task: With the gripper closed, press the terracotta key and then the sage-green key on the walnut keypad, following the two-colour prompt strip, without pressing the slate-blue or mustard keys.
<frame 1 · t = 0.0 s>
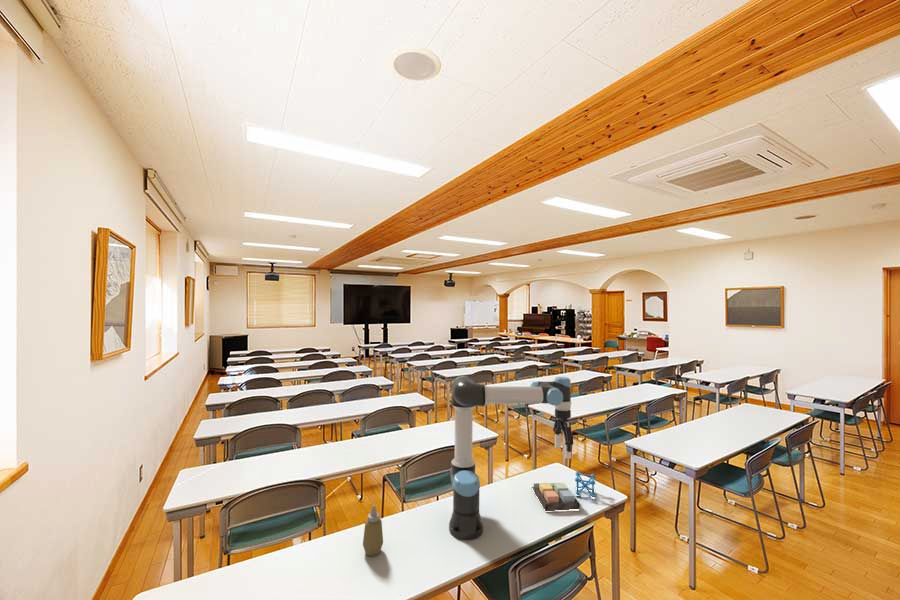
hand: (562, 452, 179), 28 cm above the table, tool pointing down, fingers open, 13 cm apart
mustard key: (546, 488, 189), point 5 cm above the table, slide at 0.0 cm
molecular structure: (585, 495, 193), on the table
slate key: (567, 496, 181), point 5 cm above the table, slide at 0.0 cm
sage key: (561, 488, 189), point 5 cm above the table, slide at 0.0 cm
squeeze bottle: (372, 552, 145), on the table
terracotta key: (551, 496, 181), point 5 cm above the table, slide at 0.0 cm
keypad: (554, 500, 188), on the table
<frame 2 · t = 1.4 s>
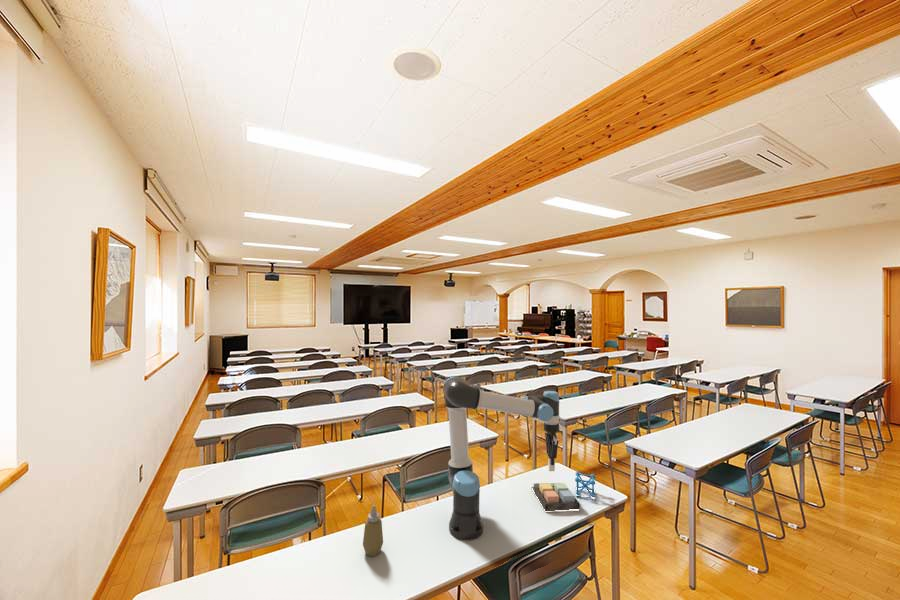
hand: (551, 470, 181), 18 cm above the table, tool pointing down, fingers closed
nothing on the table moved.
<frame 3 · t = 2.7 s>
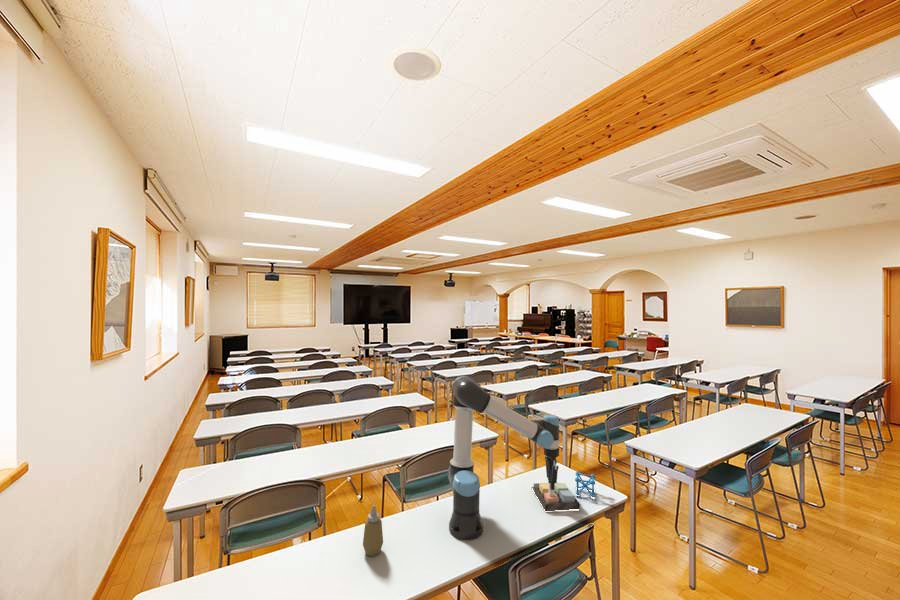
hand: (551, 494, 181), 6 cm above the table, tool pointing down, fingers closed
terracotta key: (551, 498, 181), point 4 cm above the table, slide at 0.9 cm, touching gripper
everything else where it was.
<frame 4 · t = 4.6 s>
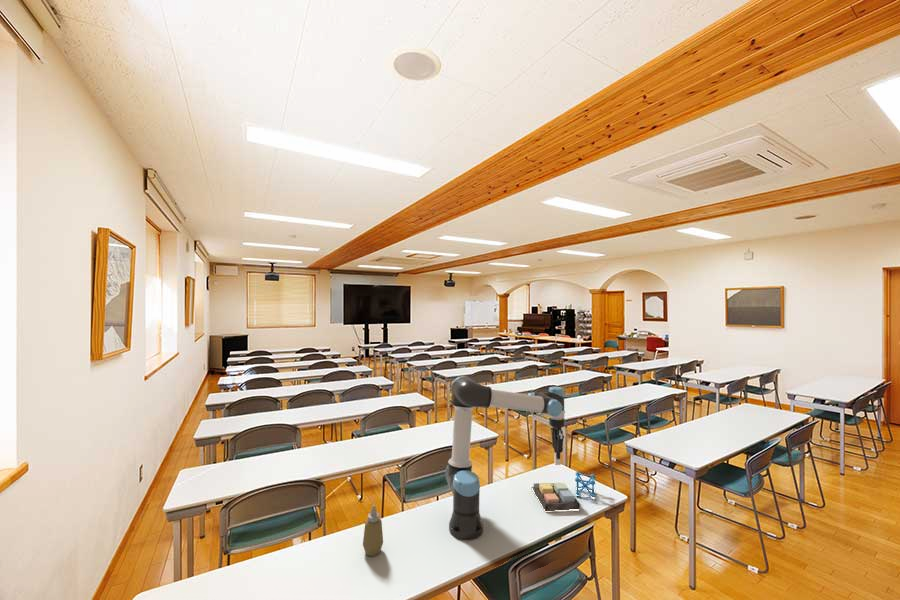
hand: (557, 464, 186), 19 cm above the table, tool pointing down, fingers closed
terracotta key: (551, 499, 181), point 4 cm above the table, slide at 1.3 cm
everything else where it was.
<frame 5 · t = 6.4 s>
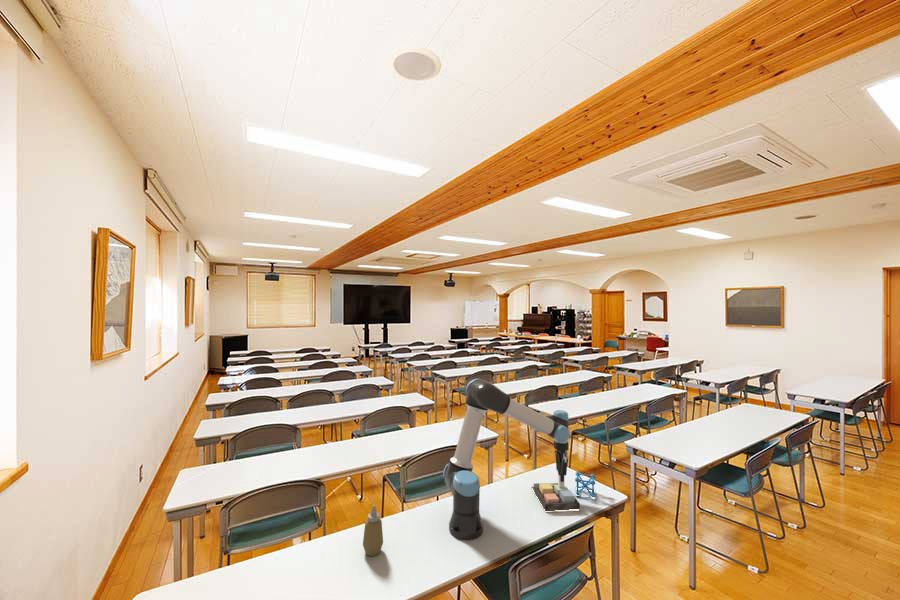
hand: (561, 486, 189), 6 cm above the table, tool pointing down, fingers closed
sage key: (561, 490, 189), point 4 cm above the table, slide at 0.9 cm, touching gripper
everything else where it was.
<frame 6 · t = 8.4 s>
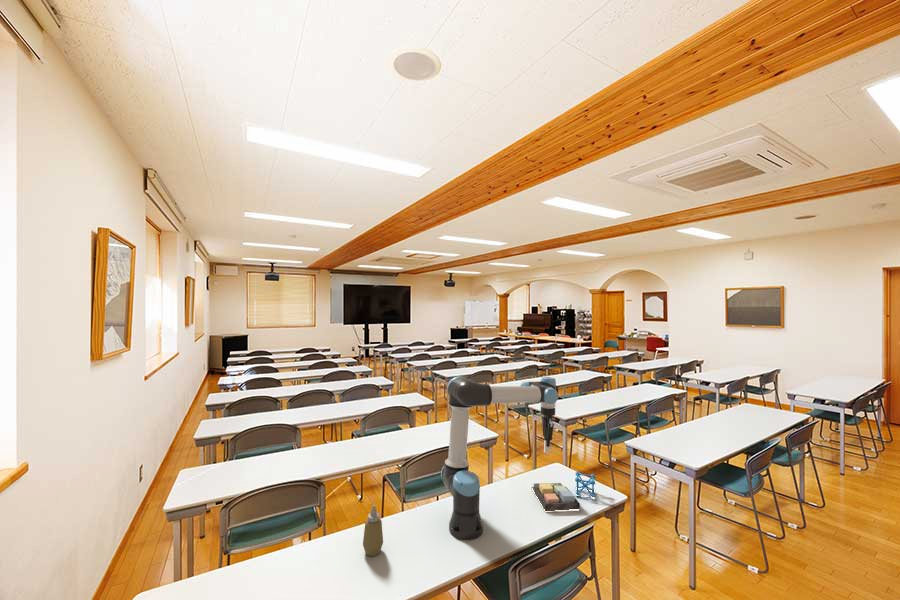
hand: (547, 452, 191), 23 cm above the table, tool pointing down, fingers closed
sage key: (561, 491, 189), point 4 cm above the table, slide at 1.3 cm
everything else where it was.
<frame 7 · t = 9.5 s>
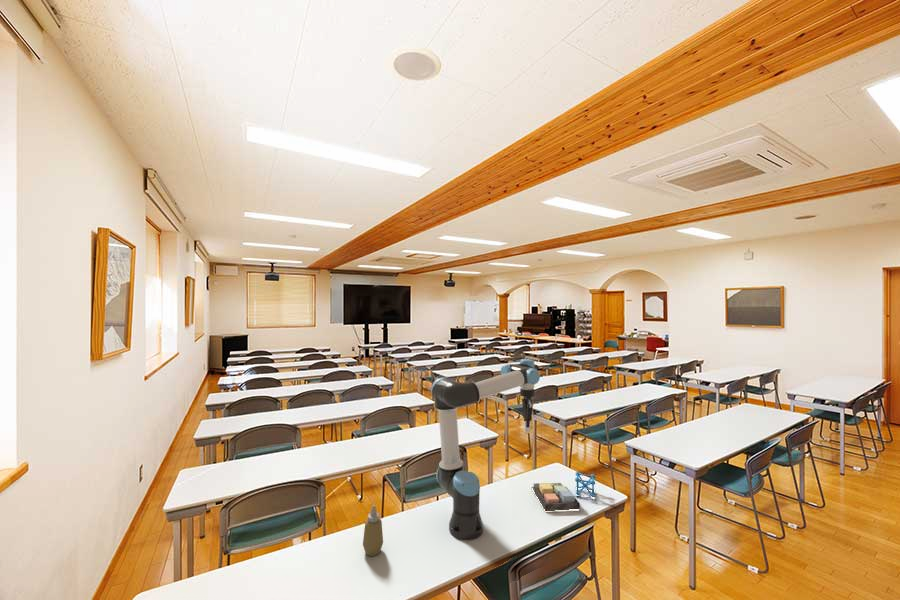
hand: (527, 432, 195), 32 cm above the table, tool pointing down, fingers closed
nothing on the table moved.
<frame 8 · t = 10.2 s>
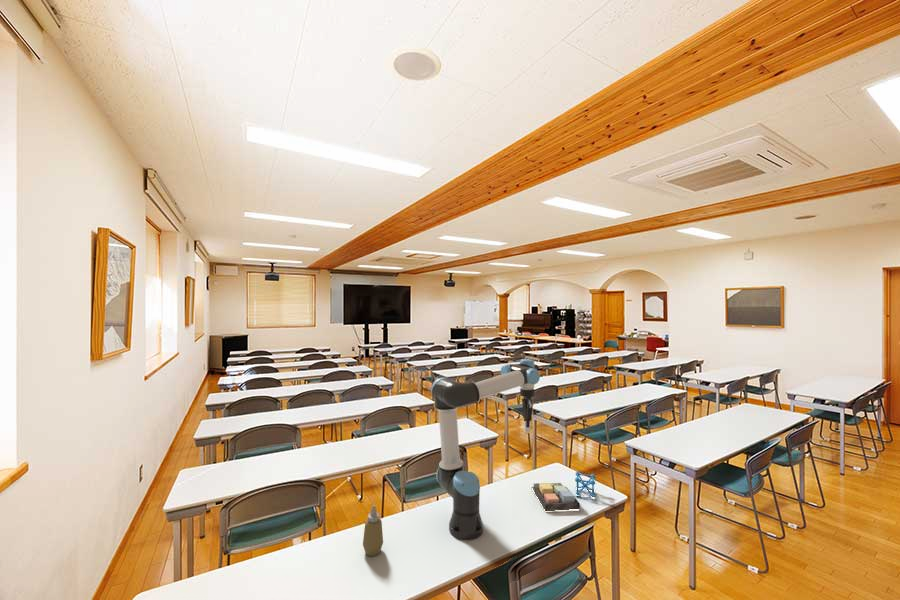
hand: (527, 432, 195), 32 cm above the table, tool pointing down, fingers closed
nothing on the table moved.
at the end: terracotta key slide at 1.3 cm; sage key slide at 1.3 cm; slate key slide at 0.0 cm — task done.
